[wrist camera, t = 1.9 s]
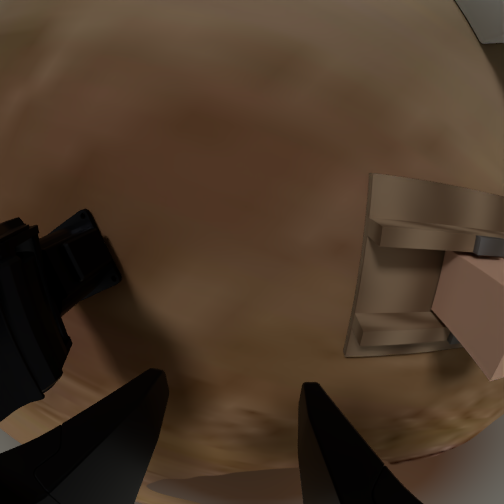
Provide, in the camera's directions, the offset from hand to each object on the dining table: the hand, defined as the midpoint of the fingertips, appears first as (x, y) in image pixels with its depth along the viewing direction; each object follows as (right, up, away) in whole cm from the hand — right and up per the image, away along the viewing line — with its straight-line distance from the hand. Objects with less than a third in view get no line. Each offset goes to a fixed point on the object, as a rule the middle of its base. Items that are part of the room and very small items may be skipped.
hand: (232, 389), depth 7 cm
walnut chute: (+20, +2, +12) cm, 23 cm away
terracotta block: (+17, +2, +11) cm, 20 cm away
